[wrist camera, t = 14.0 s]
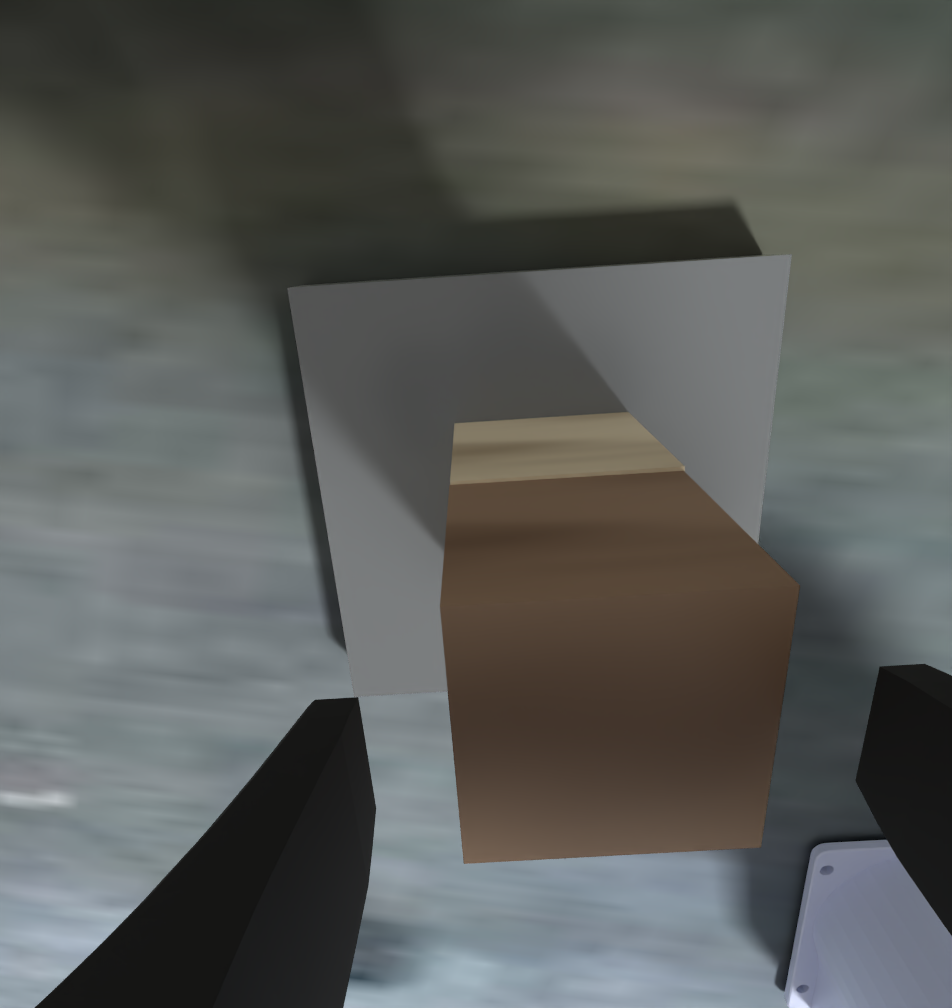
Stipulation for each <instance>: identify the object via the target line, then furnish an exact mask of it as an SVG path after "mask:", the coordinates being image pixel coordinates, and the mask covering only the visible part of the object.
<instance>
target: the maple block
mask: <svg viewBox="0 0 952 1008" xmlns="http://www.w3.org/2000/svg"><path fill="white" fill-rule="evenodd" d="M670 471H685V466H684V465H683V464H682V463H681V462H680V461H679V460H678V459H677V458H676V457H675V456H673V455H672V454H671V453H670V452H669V451H668V450H667V449H666V448H665V447H664V446H663V445H662V444H661V443H660V442H659V441H658V440H657V439H656V438H655V437H654V436H653V435H652V434H651V433H650V432H649V431H648V430H647V429H645V428H644V427H643V426H642V425H641V424H640V423H639V422H638V421H637V420H636V419H635V418H634V417H633V416H632V415H631V414H630V413H629V412H620V413H605V414H590V415H574V416H559V417H544V418H528V419H513V420H498V421H483V422H467V423H454V436H453V449H452V462H451V475H450V485H456V484H472V483H489V482H505V481H522V480H538V479H555V478H571V477H588V476H604V475H621V474H637V473H654V472H670Z"/></svg>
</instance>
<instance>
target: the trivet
mask: <svg viewBox="0 0 952 1008" xmlns="http://www.w3.org/2000/svg"><path fill="white" fill-rule="evenodd" d="M791 256H792V254H773V255H750V256H735V257H720V258H704V259H689V260H674V261H659V262H644V263H629V264H614V265H599V266H584V267H569V268H554V269H538V270H523V271H508V272H493V273H478V274H463V275H448V276H433V277H418V278H403V279H388V280H373V281H357V282H342V283H327V284H312V285H300V286H295V287H289V288H287V290H288V296H289V302H290V308H291V314H292V320H293V326H294V333H295V339H296V345H297V351H298V357H299V363H300V369H301V375H302V381H303V387H304V393H305V400H306V406H307V412H308V418H309V424H310V430H311V436H312V442H313V448H314V454H315V460H316V467H317V473H318V479H319V485H320V491H321V497H322V503H323V509H324V515H325V521H326V527H327V534H328V540H329V546H330V552H331V558H332V564H333V570H334V576H335V582H336V588H337V594H338V601H339V607H340V613H341V619H342V625H343V631H344V637H345V643H346V649H347V655H348V661H349V667H350V674H351V680H352V686H353V692H354V697H361V696H378V695H395V694H412V693H429V692H446V691H448V689H447V678H446V668H445V657H444V646H443V635H442V625H441V614H440V598H441V586H442V573H443V560H444V548H445V535H446V522H447V510H448V497H449V485H450V475H451V462H452V449H453V436H454V423H467V422H483V421H498V420H513V419H528V418H544V417H559V416H574V415H590V414H605V413H620V412H629V413H630V414H631V415H632V416H633V417H634V418H635V419H636V420H637V421H638V422H639V423H640V424H641V425H642V426H643V427H644V428H645V429H647V430H648V431H649V432H650V433H651V434H652V435H653V436H654V437H655V438H656V439H657V440H658V441H659V442H660V443H661V444H662V445H663V446H664V447H665V448H666V449H667V450H668V451H669V452H670V453H671V454H672V455H673V456H675V457H676V458H677V459H678V460H679V461H680V462H681V463H682V464H683V465H684V466H685V472H686V473H687V474H688V475H689V476H690V477H691V478H692V479H693V480H694V481H695V482H696V483H697V484H698V485H699V486H700V487H701V488H702V489H703V490H704V491H705V492H706V493H707V494H708V495H709V496H710V497H711V498H712V499H713V500H714V501H715V502H716V503H717V504H718V505H719V506H720V507H721V508H722V509H723V510H724V511H725V512H726V513H727V514H728V515H729V516H730V517H731V518H732V519H733V520H734V521H735V522H736V523H737V524H738V525H739V526H740V527H741V528H742V529H743V530H744V531H745V532H746V533H747V534H748V535H749V536H750V537H751V538H752V539H753V540H754V541H755V542H756V543H757V544H758V541H759V532H760V523H761V515H762V506H763V498H764V489H765V480H766V472H767V463H768V454H769V446H770V437H771V429H772V420H773V411H774V403H775V394H776V385H777V377H778V368H779V360H780V351H781V342H782V334H783V325H784V317H785V308H786V299H787V291H788V282H789V273H790V265H791Z"/></svg>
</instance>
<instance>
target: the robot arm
mask: <svg viewBox="0 0 952 1008" xmlns="http://www.w3.org/2000/svg"><path fill="white" fill-rule="evenodd" d="M856 783H857V785H858V787H859V789H860V790H861V792H862V794H863V796H864V798H865V800H866V802H867V804H868V806H869V808H870V810H871V812H872V814H873V815H874V817H875V819H876V821H877V823H878V825H879V827H880V828H881V830H882V832H883V834H884V835H885V837H886V839H887V840H869V841H851V842H833V843H822V844H819V845H817V846H816V847H814V848H813V850H812V852H811V855H810V861H809V866H808V871H807V876H806V882H805V887H804V892H803V898H802V903H801V908H800V914H799V919H798V924H797V929H796V935H795V940H794V945H793V951H792V956H791V961H790V967H789V972H788V977H787V983H786V988H785V993H784V998H785V1001H786V1003H787V1005H788V1007H789V1008H952V676H951V675H949V674H947V673H945V672H942V671H940V670H938V669H935V668H933V667H931V666H928V665H926V664H916V665H899V666H882V667H880V668H879V673H878V678H877V682H876V687H875V692H874V696H873V701H872V706H871V711H870V715H869V720H868V725H867V729H866V734H865V739H864V744H863V748H862V753H861V758H860V762H859V767H858V772H857V776H856ZM375 814H376V805H375V799H374V792H373V786H372V780H371V774H370V768H369V762H368V755H367V749H366V743H365V737H364V731H363V724H362V718H361V712H360V706H359V700H358V697H356V698H339V699H322V700H314V701H313V702H312V703H311V704H310V705H309V706H308V708H307V709H306V710H305V711H304V713H303V714H302V715H301V716H300V718H299V719H298V720H297V721H296V723H295V724H294V725H293V726H292V728H291V729H290V730H289V732H288V733H287V734H286V735H285V737H284V738H283V739H282V740H281V742H280V743H279V744H278V746H277V747H276V748H275V749H274V751H273V752H272V753H271V754H270V756H269V757H268V758H267V759H266V761H265V762H264V763H263V764H262V766H261V767H260V768H259V769H258V771H257V772H256V773H255V774H254V776H253V777H252V778H251V779H250V780H249V782H248V783H247V784H246V785H245V786H244V788H243V789H242V790H241V791H240V792H239V794H238V795H237V796H236V797H235V798H234V799H233V801H232V802H231V803H230V804H229V805H228V807H227V808H226V809H225V810H224V811H223V813H222V814H221V815H220V816H219V817H218V818H217V820H216V821H215V822H214V823H213V824H212V826H211V827H210V828H209V829H208V830H207V831H206V833H205V834H204V835H203V836H202V837H201V838H200V839H199V841H198V842H197V843H196V844H195V845H194V846H193V847H192V848H191V849H190V850H189V851H188V853H187V854H186V855H185V856H184V857H183V858H182V859H181V860H180V861H179V862H178V864H177V865H176V866H175V867H174V868H173V869H172V870H171V871H170V872H169V873H168V874H167V876H166V877H165V878H164V879H163V880H162V881H161V882H160V883H159V884H158V885H157V886H156V888H155V889H154V890H153V891H152V892H151V893H150V894H149V895H148V896H147V897H146V898H145V900H144V901H143V902H142V903H141V904H140V905H139V906H138V907H137V908H136V909H135V910H134V911H133V912H132V913H131V914H130V915H129V916H128V917H127V918H126V919H125V920H124V921H123V922H122V923H121V924H120V925H119V926H118V927H117V928H116V929H115V931H114V932H113V933H112V934H111V935H110V936H109V937H108V938H107V939H106V940H105V941H104V942H103V943H102V944H101V945H100V946H99V947H98V948H97V949H96V950H95V951H94V952H93V953H91V954H90V955H89V956H88V957H87V958H86V959H85V960H84V961H83V962H82V963H81V964H80V965H79V966H78V967H77V968H76V969H75V970H74V971H73V972H72V973H71V974H70V975H69V976H68V977H67V978H66V979H65V980H64V981H62V982H61V983H60V984H59V985H58V986H57V987H56V988H55V989H54V990H53V991H52V992H51V993H50V994H49V995H48V996H47V997H46V998H45V999H44V1000H43V1001H41V1002H40V1003H39V1004H38V1005H37V1006H36V1007H35V1008H343V1006H344V1001H345V996H346V992H347V987H348V982H349V977H350V972H351V968H352V963H353V958H354V953H355V948H356V944H357V939H358V934H359V929H360V924H361V919H362V914H363V909H364V904H365V899H366V894H367V889H368V883H369V874H370V865H371V856H372V846H373V835H374V825H375Z"/></svg>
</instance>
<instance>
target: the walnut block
mask: <svg viewBox="0 0 952 1008" xmlns="http://www.w3.org/2000/svg"><path fill="white" fill-rule="evenodd" d="M799 589H800V585H799V584H798V583H797V582H796V581H795V580H794V579H793V578H792V577H791V576H790V575H789V574H788V573H787V572H786V571H785V570H784V569H783V568H782V567H781V566H780V565H779V564H778V563H777V562H776V561H775V560H774V559H772V558H771V557H770V556H769V555H768V554H767V553H766V552H765V551H764V550H763V549H762V548H761V547H760V546H759V545H758V544H757V543H756V542H755V541H754V540H753V539H752V538H751V537H750V536H749V535H748V534H747V533H746V532H745V531H744V530H743V529H742V528H741V527H740V526H739V525H738V524H737V523H736V522H735V521H734V520H733V519H732V518H731V517H730V516H729V515H728V514H727V513H726V512H725V511H724V510H723V509H722V508H721V507H720V506H719V505H718V504H717V503H716V502H715V501H714V500H713V499H712V498H711V497H710V496H709V495H708V494H707V493H706V492H705V491H704V490H703V489H702V488H701V487H700V486H699V485H698V484H697V483H696V482H695V481H694V480H693V479H692V478H691V477H690V476H689V475H688V474H687V473H686V472H685V471H670V472H654V473H637V474H621V475H604V476H588V477H571V478H555V479H538V480H522V481H505V482H489V483H472V484H456V485H449V497H448V510H447V522H446V535H445V548H444V560H443V573H442V586H441V598H440V614H441V625H442V635H443V646H444V657H445V668H446V678H447V689H448V700H449V710H450V721H451V732H452V742H453V753H454V764H455V775H456V785H457V796H458V807H459V817H460V828H461V839H462V849H463V860H464V864H467V863H486V862H504V861H522V860H541V859H559V858H578V857H596V856H614V855H633V854H651V853H669V852H688V851H706V850H724V849H743V848H761V843H762V837H763V830H764V823H765V816H766V810H767V803H768V796H769V790H770V783H771V776H772V770H773V763H774V756H775V750H776V743H777V736H778V730H779V723H780V716H781V710H782V703H783V696H784V690H785V683H786V676H787V670H788V663H789V656H790V650H791V643H792V636H793V630H794V623H795V616H796V610H797V603H798V596H799Z"/></svg>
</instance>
